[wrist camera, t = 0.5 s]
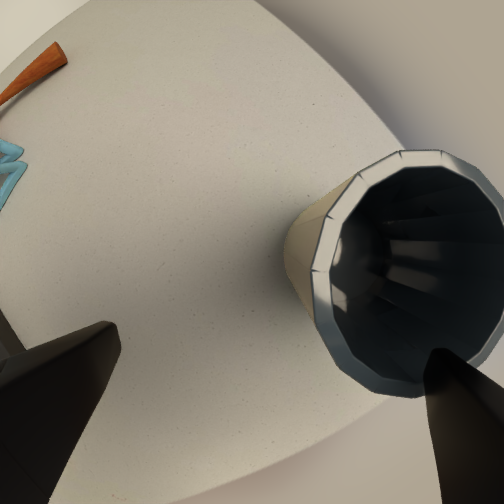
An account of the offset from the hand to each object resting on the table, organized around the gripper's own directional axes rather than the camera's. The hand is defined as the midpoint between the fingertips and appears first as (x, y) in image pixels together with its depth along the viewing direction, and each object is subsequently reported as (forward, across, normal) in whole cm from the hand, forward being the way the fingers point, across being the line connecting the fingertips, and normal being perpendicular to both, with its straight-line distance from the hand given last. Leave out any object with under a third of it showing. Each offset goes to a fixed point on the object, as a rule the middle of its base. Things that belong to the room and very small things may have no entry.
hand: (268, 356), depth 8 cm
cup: (+13, -3, +2) cm, 13 cm away
